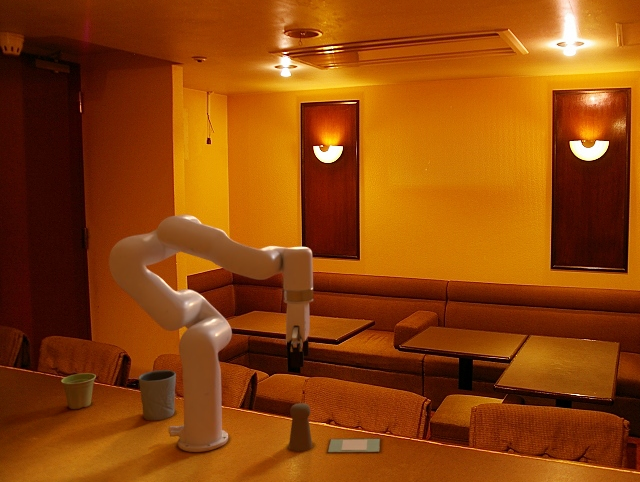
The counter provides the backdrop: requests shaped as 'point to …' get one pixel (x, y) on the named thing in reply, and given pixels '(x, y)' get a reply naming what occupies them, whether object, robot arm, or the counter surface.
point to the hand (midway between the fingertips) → (300, 361)
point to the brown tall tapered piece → (300, 428)
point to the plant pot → (78, 389)
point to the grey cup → (158, 394)
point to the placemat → (354, 445)
